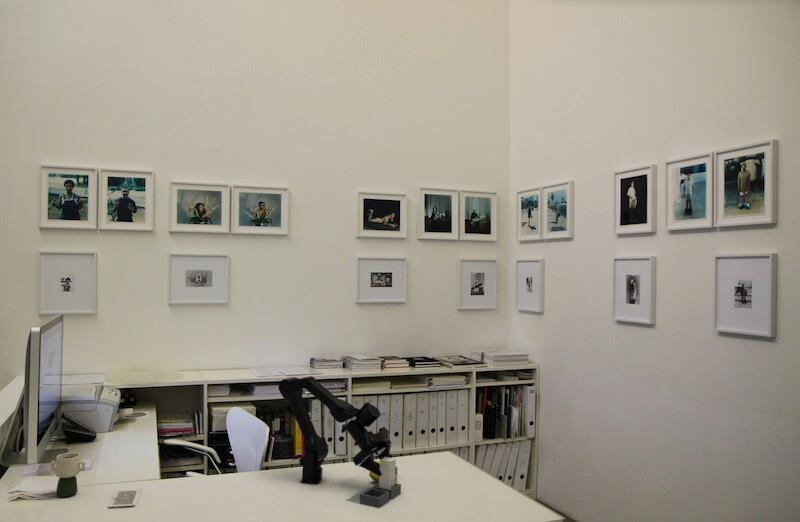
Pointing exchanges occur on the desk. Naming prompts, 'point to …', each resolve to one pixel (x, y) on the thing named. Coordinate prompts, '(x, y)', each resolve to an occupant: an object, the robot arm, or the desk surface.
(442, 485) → the desk surface
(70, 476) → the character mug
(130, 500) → the touchpad
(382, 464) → the plug
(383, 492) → the board
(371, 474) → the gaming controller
